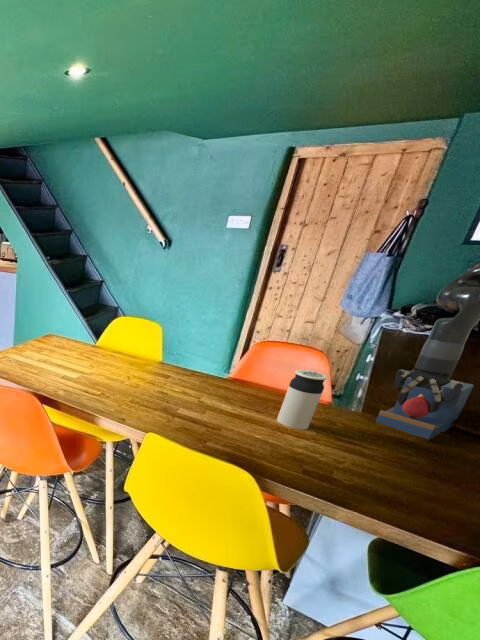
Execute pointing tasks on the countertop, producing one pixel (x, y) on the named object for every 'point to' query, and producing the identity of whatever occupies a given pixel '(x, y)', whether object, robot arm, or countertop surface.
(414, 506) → the countertop surface
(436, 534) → the countertop surface
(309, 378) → the travel mug
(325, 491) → the countertop surface
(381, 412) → the stand
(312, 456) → the countertop surface
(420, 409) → the onion
